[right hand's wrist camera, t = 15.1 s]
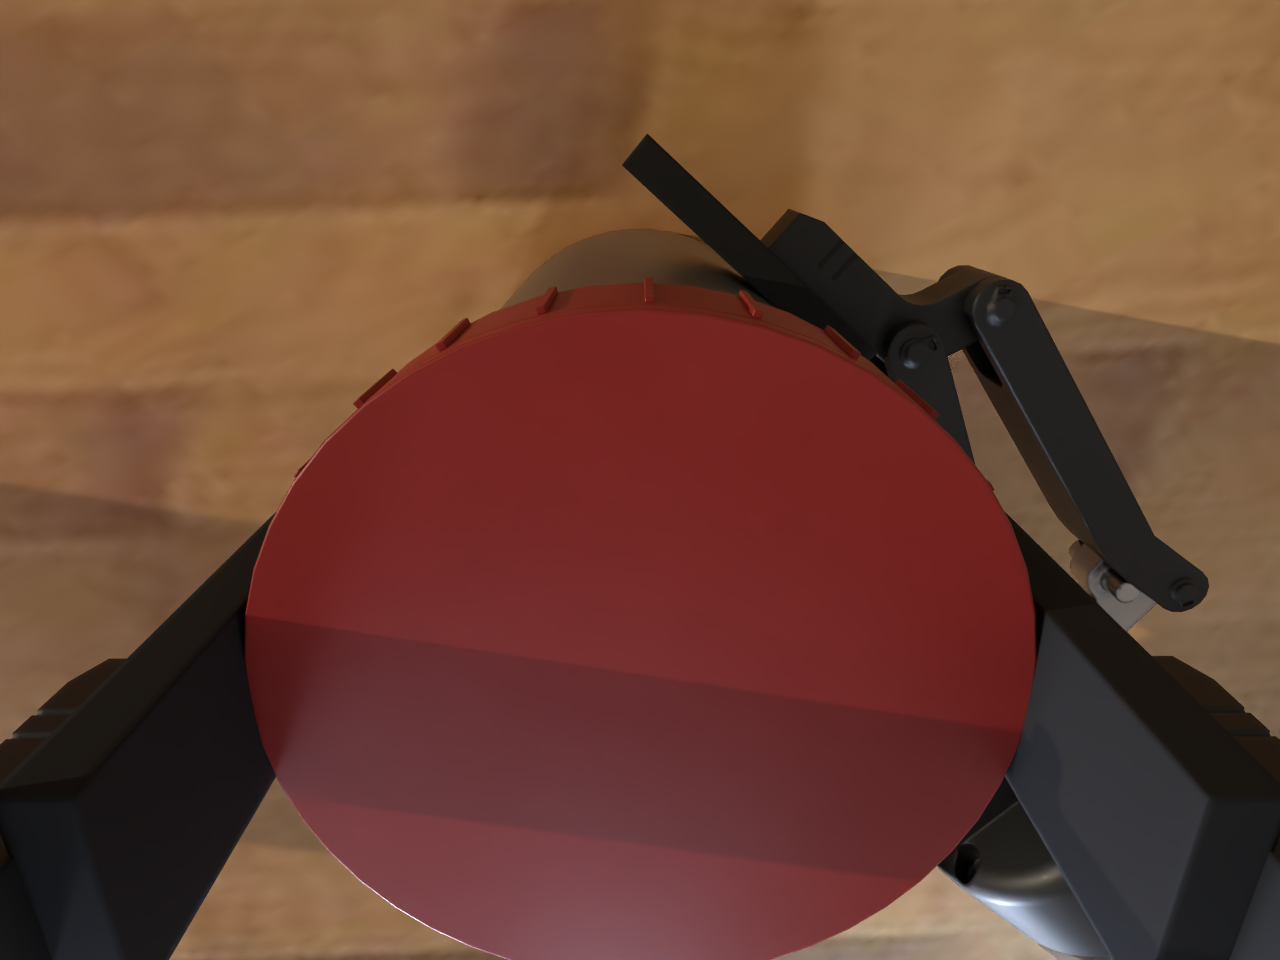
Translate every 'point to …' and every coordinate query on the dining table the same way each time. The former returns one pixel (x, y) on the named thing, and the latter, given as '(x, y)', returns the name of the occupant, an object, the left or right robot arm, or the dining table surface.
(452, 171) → the dining table surface
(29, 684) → the dining table surface
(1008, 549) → the lid
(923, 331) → the left robot arm
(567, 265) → the jar
